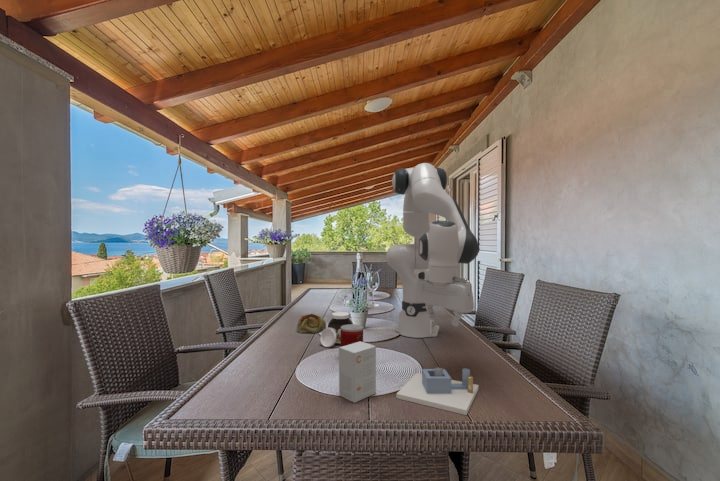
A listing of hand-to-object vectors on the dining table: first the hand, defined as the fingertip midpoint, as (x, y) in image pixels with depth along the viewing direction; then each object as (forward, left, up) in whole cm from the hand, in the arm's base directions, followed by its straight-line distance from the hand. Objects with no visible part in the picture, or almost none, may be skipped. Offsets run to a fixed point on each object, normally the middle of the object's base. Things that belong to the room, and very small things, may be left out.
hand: (442, 322), depth 103 cm
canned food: (-3, -32, -17) cm, 37 cm away
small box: (+20, -17, -17) cm, 32 cm away
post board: (+9, +2, -17) cm, 20 cm away
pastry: (-25, -66, -18) cm, 73 cm away
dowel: (+7, +9, -16) cm, 20 cm away
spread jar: (-14, -45, -17) cm, 51 cm away
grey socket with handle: (+8, +3, -16) cm, 18 cm away
